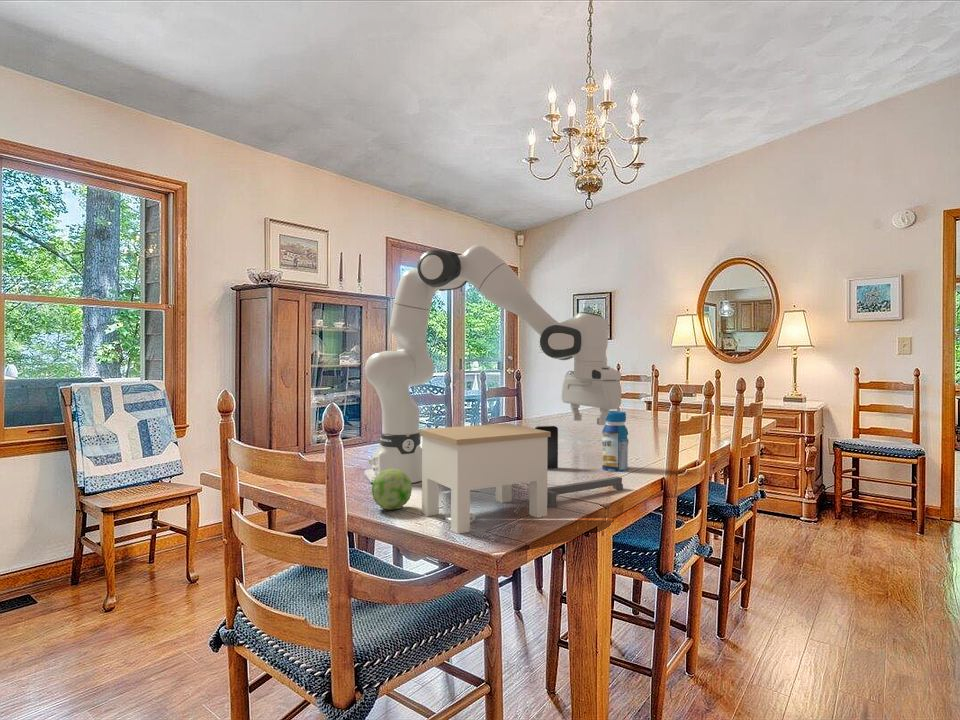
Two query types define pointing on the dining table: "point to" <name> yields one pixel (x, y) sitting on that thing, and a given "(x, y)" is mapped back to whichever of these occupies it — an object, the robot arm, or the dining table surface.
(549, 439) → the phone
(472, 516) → the steel token
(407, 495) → the decorative ball
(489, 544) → the dining table surface
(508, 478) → the white tan small table
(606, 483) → the hoe scraper
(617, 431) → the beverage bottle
